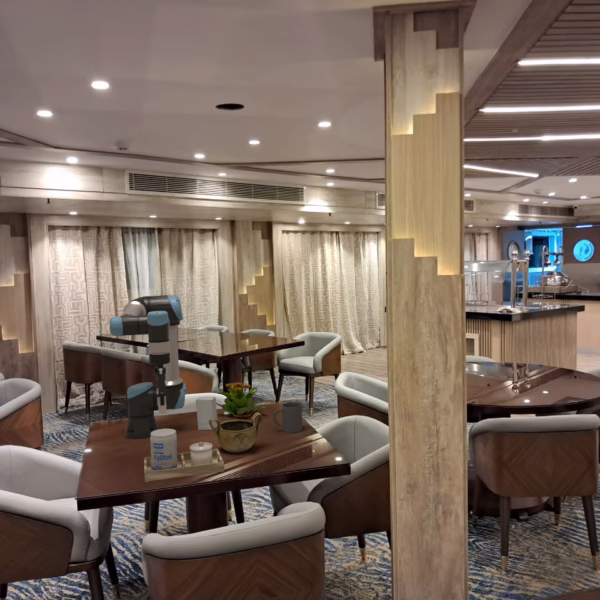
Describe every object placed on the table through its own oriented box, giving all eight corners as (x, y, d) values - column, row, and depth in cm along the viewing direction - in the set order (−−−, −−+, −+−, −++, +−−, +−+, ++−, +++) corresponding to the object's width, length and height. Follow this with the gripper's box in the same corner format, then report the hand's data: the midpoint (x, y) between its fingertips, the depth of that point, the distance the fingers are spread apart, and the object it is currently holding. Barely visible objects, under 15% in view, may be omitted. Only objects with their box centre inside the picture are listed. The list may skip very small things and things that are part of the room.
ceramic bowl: (215, 461, 218) (213, 423, 217) (206, 448, 233) (204, 413, 233) (269, 452, 226) (267, 416, 225) (256, 441, 242) (255, 407, 241)
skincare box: (217, 426, 265) (216, 396, 264) (213, 430, 259) (212, 399, 258) (201, 426, 267) (200, 396, 266) (196, 430, 261) (195, 399, 260)
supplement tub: (153, 477, 201) (151, 437, 200) (149, 468, 210) (147, 430, 209) (180, 472, 205) (178, 433, 204) (175, 464, 213) (173, 426, 213)
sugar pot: (189, 463, 214) (188, 439, 213) (211, 460, 216) (210, 437, 216) (191, 471, 206) (190, 446, 205) (214, 468, 208) (213, 443, 207)
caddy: (144, 467, 213) (144, 457, 213) (218, 458, 221) (217, 448, 221) (144, 483, 197) (144, 472, 197) (224, 473, 205) (223, 462, 204)
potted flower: (275, 411, 289) (273, 378, 288) (253, 424, 268) (251, 388, 267) (233, 408, 300) (232, 376, 299) (209, 419, 278) (208, 385, 277)
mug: (299, 426, 262) (298, 401, 261) (305, 431, 253) (304, 405, 252) (271, 429, 258) (270, 404, 257) (276, 435, 249) (275, 409, 248)
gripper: (148, 348, 215) (151, 402, 217) (149, 359, 191) (152, 419, 193) (168, 347, 217) (170, 400, 219) (171, 357, 193) (174, 416, 195)
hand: (162, 409), depth 206 cm, fingers open, 13 cm apart
